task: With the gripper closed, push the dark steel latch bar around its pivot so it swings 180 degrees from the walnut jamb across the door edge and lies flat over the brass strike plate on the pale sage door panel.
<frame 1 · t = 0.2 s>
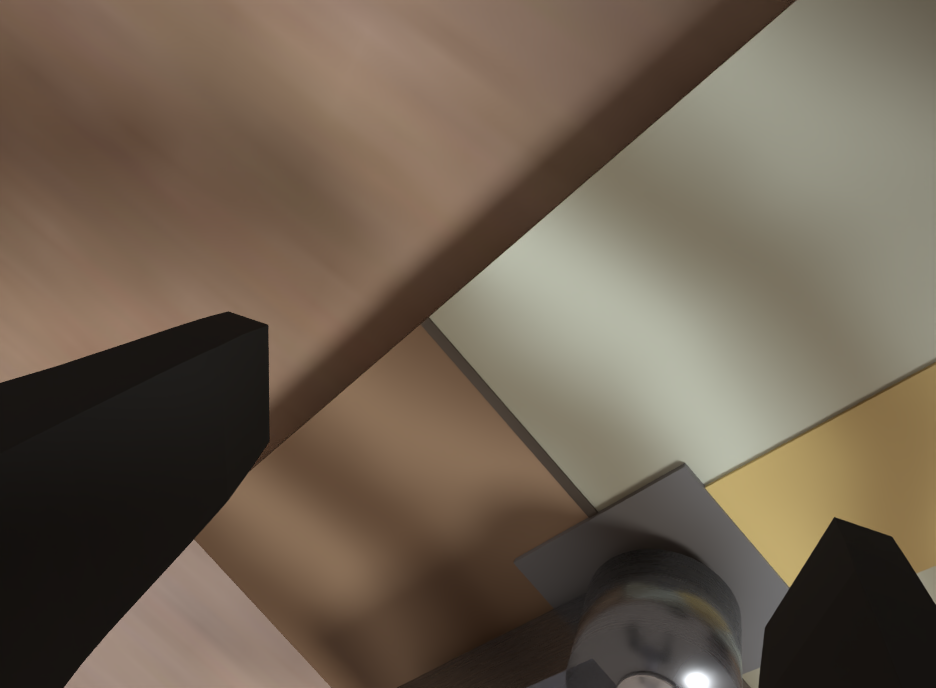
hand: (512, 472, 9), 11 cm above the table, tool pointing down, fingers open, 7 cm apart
door board: (646, 535, 21), on the table
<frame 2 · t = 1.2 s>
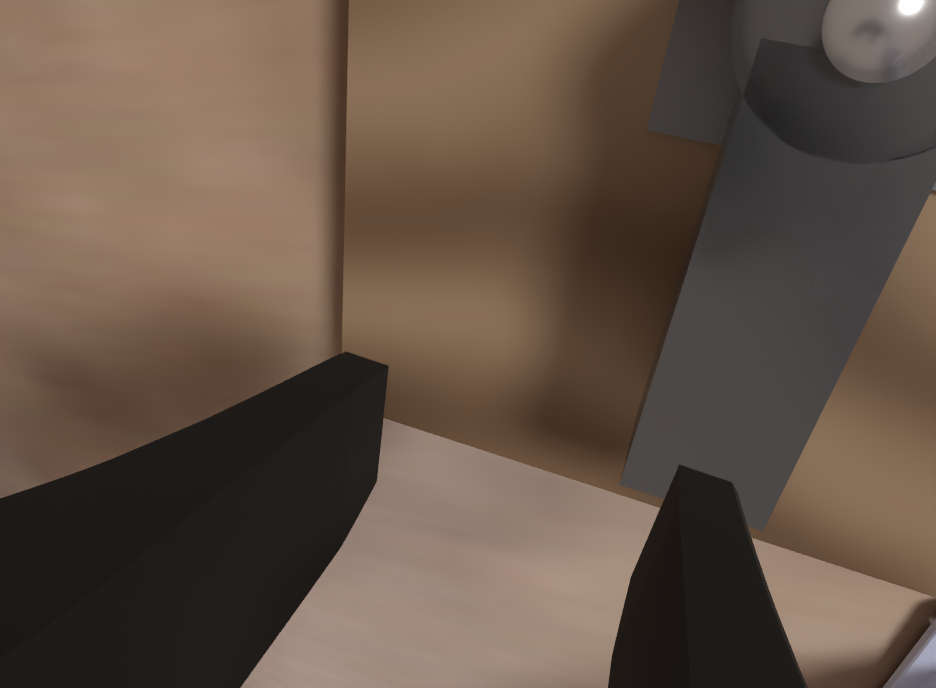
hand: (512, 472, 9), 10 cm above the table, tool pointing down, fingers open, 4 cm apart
latch bar: (785, 233, 13), point 4 cm above the table, hinge at 0.0°
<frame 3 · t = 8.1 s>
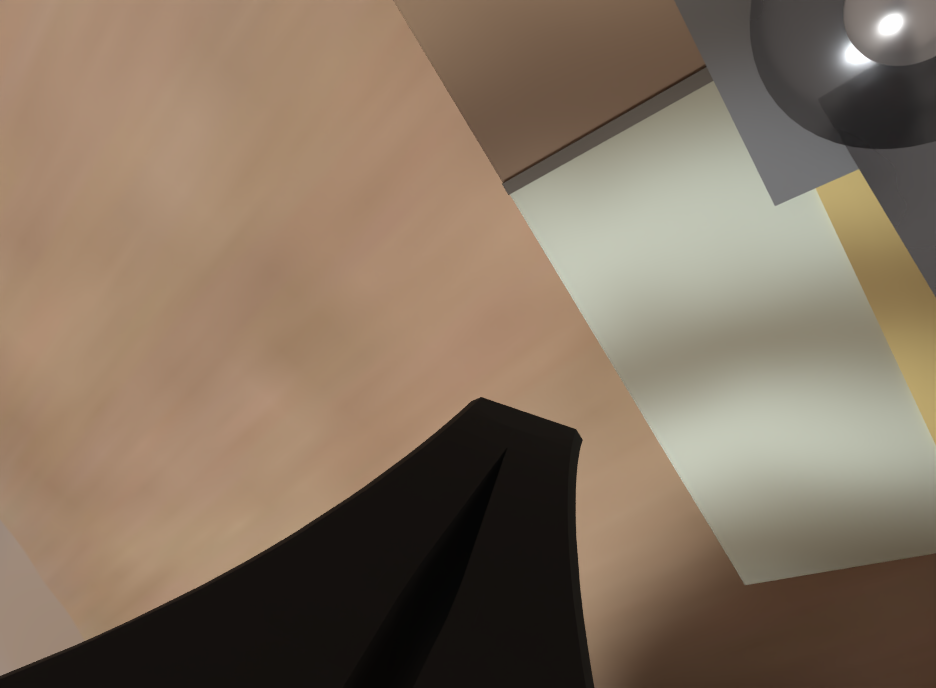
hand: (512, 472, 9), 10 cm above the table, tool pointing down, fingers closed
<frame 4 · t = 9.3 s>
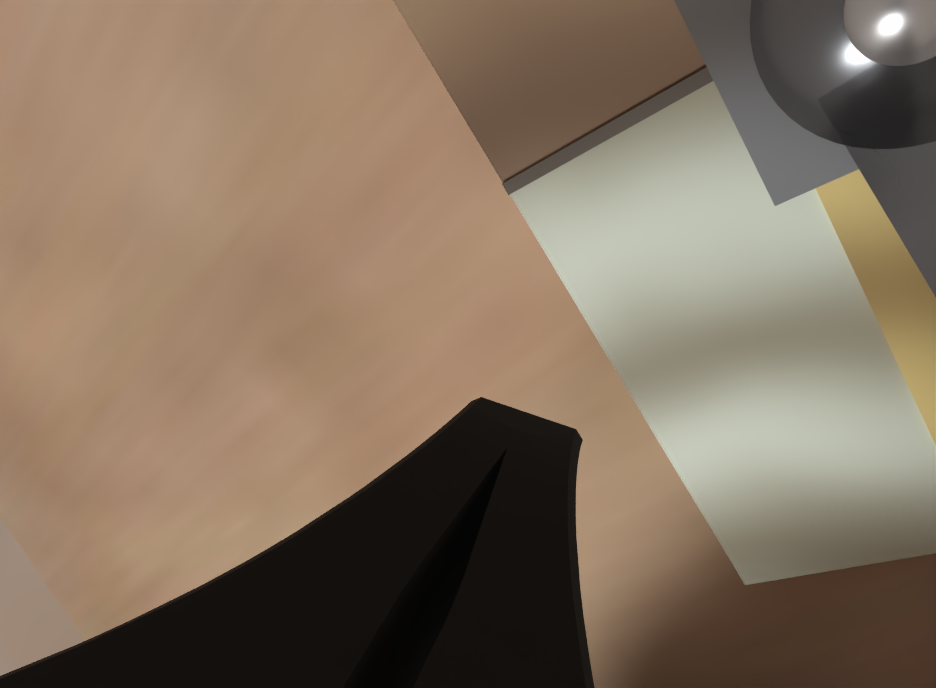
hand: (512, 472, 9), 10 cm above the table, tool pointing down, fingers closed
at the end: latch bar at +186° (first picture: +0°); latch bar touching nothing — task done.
